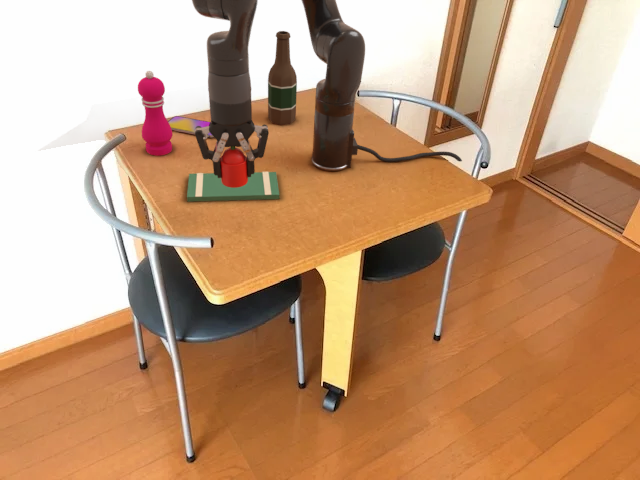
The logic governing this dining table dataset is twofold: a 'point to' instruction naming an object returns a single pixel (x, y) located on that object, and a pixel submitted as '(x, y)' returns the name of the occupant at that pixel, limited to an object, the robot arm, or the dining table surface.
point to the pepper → (233, 168)
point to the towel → (214, 190)
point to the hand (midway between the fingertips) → (234, 175)
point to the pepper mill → (154, 116)
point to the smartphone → (187, 124)
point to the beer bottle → (282, 84)
